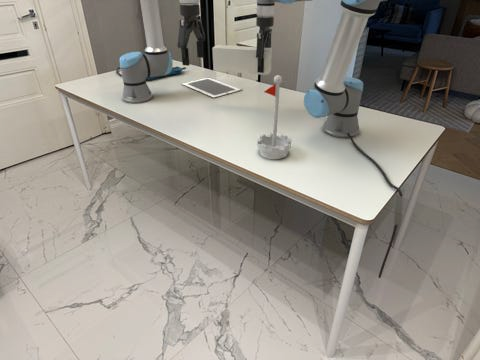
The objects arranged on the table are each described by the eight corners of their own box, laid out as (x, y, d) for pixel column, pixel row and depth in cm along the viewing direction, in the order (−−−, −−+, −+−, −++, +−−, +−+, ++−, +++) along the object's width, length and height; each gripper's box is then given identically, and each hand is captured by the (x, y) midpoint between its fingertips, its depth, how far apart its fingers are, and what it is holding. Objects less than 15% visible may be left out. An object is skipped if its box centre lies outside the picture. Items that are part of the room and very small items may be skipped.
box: (271, 71, 161) (272, 48, 155) (268, 75, 156) (269, 51, 150) (218, 67, 168) (217, 44, 162) (213, 70, 162) (212, 47, 157)
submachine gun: (171, 61, 240) (190, 66, 223) (172, 66, 242) (191, 72, 225) (125, 70, 221) (142, 76, 205) (126, 76, 223) (144, 82, 207)
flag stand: (280, 142, 140) (286, 68, 124) (296, 156, 130) (304, 78, 113) (251, 147, 136) (253, 72, 120) (265, 163, 126) (269, 82, 109)
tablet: (181, 84, 205) (181, 83, 205) (208, 77, 216) (208, 77, 216) (213, 98, 185) (213, 97, 185) (241, 90, 196) (241, 89, 196)
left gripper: (194, 0, 140) (198, 53, 152) (163, 7, 120) (170, 67, 132) (211, 1, 138) (213, 55, 150) (182, 8, 118) (187, 69, 130)
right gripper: (264, 12, 155) (262, 64, 167) (248, 18, 139) (248, 74, 152) (280, 13, 152) (277, 65, 165) (266, 19, 137) (263, 76, 150)
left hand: (193, 61), depth 141 cm, fingers open, 13 cm apart
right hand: (263, 70), depth 159 cm, fingers closed on box, 7 cm apart
